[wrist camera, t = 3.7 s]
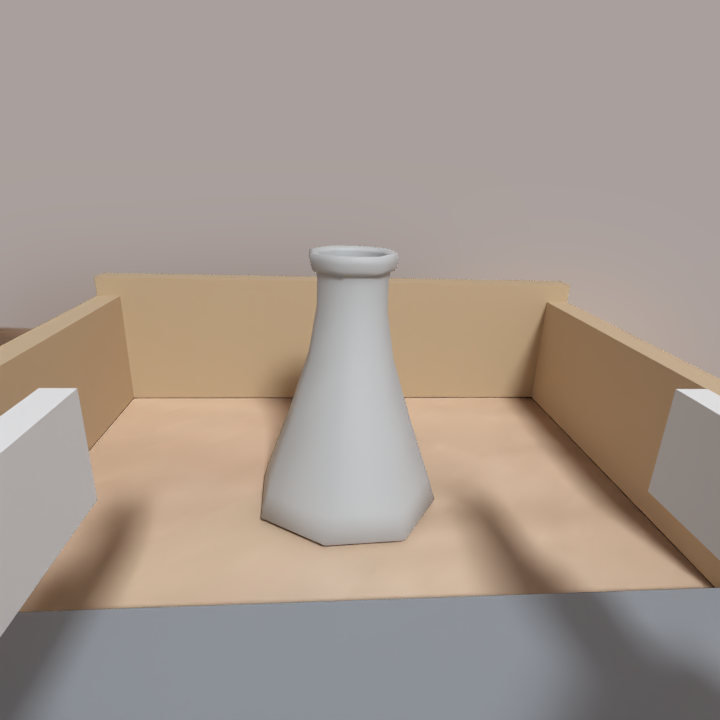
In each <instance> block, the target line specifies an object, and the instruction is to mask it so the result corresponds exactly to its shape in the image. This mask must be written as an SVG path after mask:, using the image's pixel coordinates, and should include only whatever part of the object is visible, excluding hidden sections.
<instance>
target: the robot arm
mask: <svg viewBox="0 0 720 720" xmlns="http://www.w3.org/2000/svg"><path fill="white" fill-rule="evenodd" d="M648 492H649V493H650V494H651V495H652V496H653V497H654V498H655V499H656V500H657V501H658V502H659V503H660V504H661V505H663V506H664V507H665V508H666V509H667V510H668V511H669V512H670V513H671V514H672V515H673V516H674V517H675V518H676V519H677V520H678V521H679V522H680V523H681V524H682V525H683V526H684V527H685V528H686V529H687V530H689V531H690V532H691V533H692V534H693V535H694V536H695V537H696V538H697V539H698V540H699V541H700V542H701V543H702V544H703V545H704V546H705V547H706V548H707V549H708V550H709V551H710V552H711V553H712V554H713V555H715V556H716V557H717V558H718V559H719V560H720V396H719V395H718V394H716V393H714V392H712V391H710V390H708V389H676V390H675V394H674V397H673V401H672V405H671V408H670V412H669V416H668V419H667V423H666V427H665V430H664V434H663V438H662V441H661V445H660V449H659V452H658V456H657V460H656V463H655V467H654V471H653V474H652V478H651V482H650V485H649V489H648ZM96 501H97V495H96V490H95V484H94V478H93V473H92V467H91V462H90V456H89V450H88V445H87V439H86V434H85V428H84V423H83V417H82V411H81V406H80V400H79V395H78V389H77V388H38V389H37V390H35V391H34V392H33V393H31V394H30V395H29V396H27V397H26V398H25V399H23V400H22V401H20V402H19V403H18V404H16V405H15V406H14V407H12V408H11V409H10V410H8V411H7V412H5V413H4V414H3V415H1V416H0V637H1V635H2V634H3V633H4V631H5V630H6V628H7V627H8V626H9V624H10V623H11V621H12V620H13V618H14V617H15V616H16V614H17V613H18V611H19V610H20V609H21V607H22V606H23V604H24V603H25V601H26V600H27V599H28V597H29V596H30V594H31V593H32V592H33V590H34V589H35V587H36V586H37V584H38V583H39V582H40V580H41V579H42V577H43V576H44V575H45V573H46V572H47V570H48V569H49V567H50V566H51V565H52V563H53V562H54V560H55V559H56V558H57V556H58V555H59V553H60V552H61V550H62V549H63V548H64V546H65V545H66V543H67V542H68V541H69V539H70V538H71V536H72V535H73V533H74V532H75V531H76V529H77V528H78V526H79V525H80V524H81V522H82V521H83V519H84V518H85V517H86V515H87V514H88V512H89V511H90V509H91V508H92V507H93V505H94V504H95V502H96Z"/></svg>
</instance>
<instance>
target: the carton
mask: <svg viewBox="0 0 720 720" xmlns="http://www.w3.org/2000/svg"><path fill="white" fill-rule="evenodd" d="M94 279H95V286H96V292H97V296H95V297H93V298H91V299H90V300H88V301H86V302H84V303H82V304H80V305H78V306H76V307H74V308H72V309H70V310H68V311H66V312H65V313H63V314H61V315H59V316H57V317H55V318H53V319H51V320H49V321H47V322H45V323H43V324H41V325H40V326H38V327H36V328H34V329H32V330H30V331H28V332H26V333H24V334H22V335H20V336H18V337H16V338H14V339H13V340H11V341H9V342H7V343H5V344H3V345H1V346H0V416H1V415H3V414H4V413H5V412H7V411H8V410H10V409H11V408H12V407H14V406H15V405H16V404H18V403H19V402H20V401H22V400H23V399H25V398H26V397H27V396H29V395H30V394H31V393H33V392H34V391H35V390H37V389H38V388H77V389H78V395H79V400H80V406H81V411H82V417H83V423H84V428H85V434H86V439H87V445H88V450H90V449H91V447H92V446H93V445H94V444H95V443H96V442H97V440H98V439H99V438H100V437H101V436H102V435H103V433H104V432H105V431H106V430H107V429H108V428H109V426H110V425H111V424H112V423H113V422H114V421H115V419H116V418H117V417H118V416H119V415H120V413H121V412H122V411H123V410H124V409H125V408H126V406H127V405H128V404H129V403H130V402H131V401H132V399H133V398H216V397H294V394H295V391H296V388H297V385H298V382H299V379H300V376H301V373H302V370H303V367H304V364H305V361H306V358H307V355H308V352H309V347H310V341H311V335H312V329H313V324H314V318H315V312H316V306H317V277H298V276H297V277H296V276H242V275H186V274H185V275H184V274H130V273H128V274H127V273H102V274H100V275H98V276H95V277H94ZM569 288H570V285H568V284H566V283H563V282H561V281H519V280H463V279H407V278H389V288H388V318H389V326H390V335H391V343H392V351H393V359H394V363H395V366H396V370H397V374H398V377H399V381H400V385H401V388H402V392H403V395H404V397H532V398H533V399H534V400H535V401H536V402H537V403H538V404H539V405H540V406H541V408H542V409H543V410H544V411H545V412H546V413H547V414H548V415H549V416H550V417H551V418H552V419H553V420H554V421H555V422H556V423H557V424H558V425H559V426H560V427H561V428H562V429H563V430H564V431H565V432H566V433H567V434H568V435H569V437H570V438H571V439H572V440H573V441H574V442H575V443H576V444H577V445H578V446H579V447H580V448H581V449H582V450H583V451H584V452H585V453H586V454H587V455H588V456H589V457H590V458H591V459H592V460H593V461H594V462H595V463H596V464H597V466H598V467H599V468H600V469H601V470H602V471H603V472H604V473H605V474H606V475H607V476H608V477H609V478H610V479H611V480H612V481H613V482H614V483H615V484H616V485H617V486H618V487H619V488H620V489H621V490H622V491H623V492H624V493H625V495H626V496H627V497H628V498H629V499H630V500H631V501H632V502H633V503H634V504H635V505H636V506H637V507H638V508H639V509H640V510H641V511H642V512H643V513H644V514H645V515H646V516H647V517H648V518H649V519H650V520H651V521H652V523H653V524H654V525H655V526H656V527H657V528H658V529H659V530H660V531H661V532H662V533H663V534H664V535H665V536H666V537H667V538H668V539H669V540H670V541H671V542H672V543H673V544H674V545H675V546H676V547H677V548H678V549H679V550H680V552H681V553H682V554H683V555H684V556H685V557H686V558H687V559H688V560H689V561H690V562H691V563H692V564H693V565H694V566H695V567H696V568H697V569H698V570H699V571H700V572H701V573H702V574H703V575H704V576H705V577H706V578H707V579H708V581H709V582H710V583H711V584H712V585H713V586H714V587H715V588H720V560H719V559H718V558H717V557H716V556H715V555H713V554H712V553H711V552H710V551H709V550H708V549H707V548H706V547H705V546H704V545H703V544H702V543H701V542H700V541H699V540H698V539H697V538H696V537H695V536H694V535H693V534H692V533H691V532H690V531H689V530H687V529H686V528H685V527H684V526H683V525H682V524H681V523H680V522H679V521H678V520H677V519H676V518H675V517H674V516H673V515H672V514H671V513H670V512H669V511H668V510H667V509H666V508H665V507H664V506H663V505H661V504H660V503H659V502H658V501H657V500H656V499H655V498H654V497H653V496H652V495H651V494H650V493H649V492H648V489H649V485H650V482H651V478H652V474H653V471H654V467H655V463H656V460H657V456H658V452H659V449H660V445H661V441H662V438H663V434H664V430H665V427H666V423H667V419H668V416H669V412H670V408H671V405H672V401H673V397H674V394H675V390H676V389H708V390H710V391H712V392H714V393H716V394H718V395H719V396H720V379H719V378H717V377H715V376H713V375H711V374H709V373H707V372H705V371H703V370H701V369H699V368H697V367H695V366H693V365H691V364H689V363H687V362H685V361H683V360H681V359H679V358H677V357H675V356H673V355H671V354H669V353H667V352H665V351H663V350H661V349H659V348H657V347H655V346H653V345H651V344H649V343H647V342H645V341H643V340H641V339H639V338H637V337H635V336H633V335H631V334H629V333H627V332H625V331H623V330H621V329H619V328H617V327H615V326H613V325H611V324H609V323H607V322H605V321H603V320H601V319H599V318H597V317H595V316H593V315H591V314H589V313H587V312H585V311H583V310H581V309H579V308H577V307H575V306H573V305H571V304H569V303H567V299H568V294H569Z"/></svg>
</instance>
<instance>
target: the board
mask: <svg viewBox="0 0 720 720" xmlns="http://www.w3.org/2000/svg"><path fill="white" fill-rule="evenodd" d="M0 720H720V588H696V589H668V590H639V591H611V592H582V593H554V594H525V595H497V596H468V597H439V598H411V599H382V600H354V601H325V602H297V603H268V604H240V605H211V606H182V607H154V608H125V609H97V610H68V611H40V612H18V613H17V614H16V616H15V617H14V618H13V620H12V621H11V623H10V624H9V626H8V627H7V628H6V630H5V631H4V633H3V634H2V635H1V637H0Z"/></svg>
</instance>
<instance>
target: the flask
mask: <svg viewBox="0 0 720 720" xmlns="http://www.w3.org/2000/svg"><path fill="white" fill-rule="evenodd" d="M309 258H310V262H311V267H312V269H313V271H315V272H317V306H316V312H315V318H314V324H313V329H312V335H311V341H310V347H309V352H308V355H307V358H306V361H305V364H304V367H303V370H302V373H301V376H300V379H299V382H298V385H297V388H296V391H295V394H294V397H293V400H292V403H291V406H290V409H289V411H288V414H287V417H286V419H285V422H284V424H283V427H282V430H281V432H280V435H279V438H278V440H277V443H276V446H275V448H274V451H273V453H272V456H271V459H270V462H269V465H268V468H267V471H266V474H265V479H264V491H263V502H262V513H261V518H262V519H264V520H267V521H269V522H271V523H274V524H276V525H278V526H281V527H283V528H285V529H287V530H290V531H292V532H294V533H297V534H299V535H301V536H304V537H306V538H308V539H311V540H313V541H315V542H317V543H320V544H322V545H324V546H328V545H343V544H359V543H374V542H389V541H404V540H406V538H407V537H408V535H409V534H410V533H411V531H412V530H413V528H414V527H415V526H416V524H417V523H418V521H419V520H420V519H421V517H422V516H423V514H424V513H425V512H426V510H427V509H428V507H429V506H430V504H431V503H432V502H433V500H434V496H433V493H432V489H431V486H430V482H429V479H428V475H427V472H426V469H425V466H424V463H423V459H422V456H421V453H420V450H419V447H418V444H417V440H416V437H415V434H414V431H413V428H412V425H411V421H410V417H409V414H408V410H407V406H406V403H405V399H404V395H403V392H402V388H401V385H400V381H399V377H398V374H397V370H396V366H395V363H394V359H393V351H392V343H391V335H390V326H389V318H388V288H389V278H390V272H392V271H394V270H395V269H396V268H397V264H398V254H397V253H396V252H394V251H393V250H391V249H386V248H376V247H366V246H325V247H319V248H313V249H310V250H309Z"/></svg>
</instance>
